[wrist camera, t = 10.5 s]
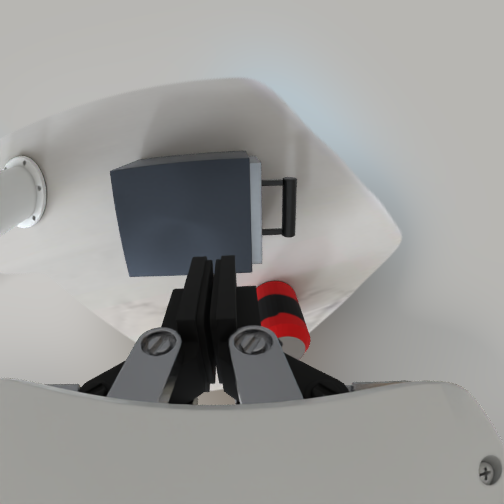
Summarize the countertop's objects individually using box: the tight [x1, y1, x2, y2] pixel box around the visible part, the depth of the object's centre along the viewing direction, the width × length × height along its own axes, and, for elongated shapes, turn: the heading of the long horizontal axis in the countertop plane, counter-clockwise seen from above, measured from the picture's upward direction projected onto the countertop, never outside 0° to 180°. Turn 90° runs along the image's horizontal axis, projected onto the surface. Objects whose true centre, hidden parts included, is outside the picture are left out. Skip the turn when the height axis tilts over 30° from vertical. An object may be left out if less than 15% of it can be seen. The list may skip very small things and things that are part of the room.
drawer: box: [248, 156, 297, 264], centre depth 32 cm, size 18×11×8 cm, turn 91°
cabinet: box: [110, 151, 252, 277], centre depth 32 cm, size 15×13×10 cm
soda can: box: [256, 281, 310, 360], centre depth 39 cm, size 8×8×12 cm
